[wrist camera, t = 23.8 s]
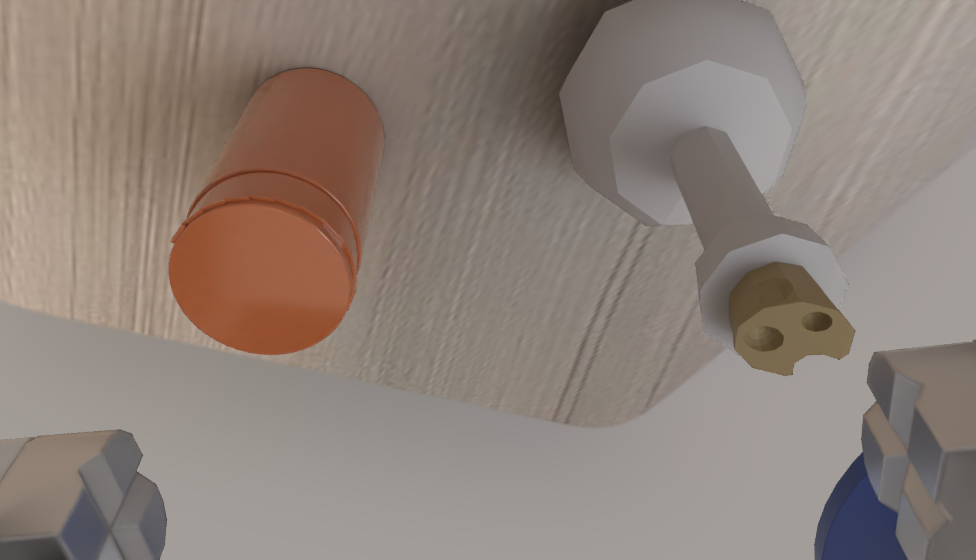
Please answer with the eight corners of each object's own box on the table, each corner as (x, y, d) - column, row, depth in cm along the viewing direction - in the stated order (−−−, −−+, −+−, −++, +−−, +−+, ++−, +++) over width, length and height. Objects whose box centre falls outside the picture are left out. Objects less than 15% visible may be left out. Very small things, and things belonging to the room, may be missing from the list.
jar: (412, 123, 37) (390, 269, 28) (335, 220, 40) (292, 385, 30) (290, 38, 35) (222, 165, 26) (217, 146, 38) (131, 298, 28)
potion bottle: (816, 77, 36) (1060, 353, 21) (639, 210, 39) (742, 532, 24) (687, -92, 33) (871, 94, 18) (505, 69, 36) (527, 343, 21)
